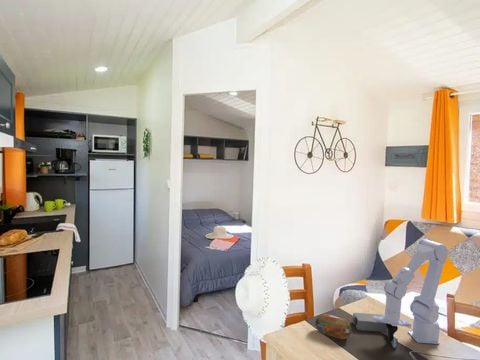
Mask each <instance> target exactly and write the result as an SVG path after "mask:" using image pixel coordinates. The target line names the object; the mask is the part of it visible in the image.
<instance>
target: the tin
mask: <svg viewBox="0 0 480 360" xmlns="http://www.w3.org/2000/svg"><path fill="white" fill-rule="evenodd" d="M315 326H316V329H317V330H318V331H319V333H321V334H323V335H327V336H329V337H333V338H337V339H339V340H347V339H348V338H350V336H351V334H352V333H351V332H352V327H351V326H352V325H351V324H350V323H349V321H348V320H347V319H346V318H343V317H339V316H335V315H332V314H328V313H321V314H319V315H318V316H317V317H316V319H315Z"/></svg>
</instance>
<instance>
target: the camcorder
mask: <svg viewBox="0 0 480 360" xmlns="http://www.w3.org/2000/svg"><path fill="white" fill-rule="evenodd" d="M373 316H385V314H379V313H365V312H353V313H352V319H351V321H352V325H354V326H355V328H356V329H357V330H358V331H366V332H367V331H368V332H370V331H371V332H381V333H384V332H385V333H386V329H387V326H386V324H385V323H381V322H374V321H373Z"/></svg>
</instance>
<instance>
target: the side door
mask: <svg viewBox="0 0 480 360" xmlns="http://www.w3.org/2000/svg"><path fill="white" fill-rule="evenodd" d="M385 333H386V335H387V336H388V329H386V332H385ZM398 340H399V338H398V337H397V335H396V334H395V333H394V335H393V340H392V342H391V341H390V343H391V345H392V347H393V348H394V349H395V348H396V347H398Z"/></svg>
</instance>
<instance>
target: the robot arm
mask: <svg viewBox="0 0 480 360" xmlns="http://www.w3.org/2000/svg"><path fill="white" fill-rule="evenodd" d="M415 248H416V251H415V253H414V254H413V256H412V257H411V258H410V260H409V262H408V264H407V265H406V266H404V267H403V266H402V267H401V268H400V269H399V270H398V272H396V274H395V275H394V277H393V278H392V279H391V280H387V281H386V282H385V284H384V285H383V290H384V292H385V294H384V295H385V296H386V297H385V310H384V316H373V321H374V322H381V323H385V324H386V326H387V329H388V335H387V340H388V342H390V343H391V342H392V340H393V335H394V334H395V333H396V332H397V331H398V330H399V327H400V326H401V327H407V328H408V329H411V328H412V330H408V331H407V333H408V334H410V336H411V337H412V338H413V339H414V340H415V342H417V343H420V344H430V345H431V344H433V345H434V344H435V345H440V342H439V339H440V325H439V323H438V319H439V317H440V316H439V313H440V312H439V310H440V307H439V305H438V304H437V302H436V300H435V299H436V295H437V291H438V288H439V284H440V281H441V277H442V273H443V270H444V266H445V264H446V261H447V258H448V255H449V249H448V247H447V245H445V244H444V243H439V242H437V241H432V240H429V239H427V238H422V239H420V240H418V244H416V247H415ZM425 261H428V267H427V269H426V273H425V277H424V280H423V284H422V288H421V291H420V294H419V295H417V296H414V298H413V299H412V302H411V303H410V306H409V307H410V308H409V309H410V311H411V313H412V316H413V322H412V323H413V324H412V323H411V321H410V320H405V319H402V318H401V309H402V299H403V298H404V297H405V296H406V294H407V290H408V286H409V285H410V284H411V282H412V281H413V280H414V278H415V272H416V271H417V270H419V268H420V267H421V266H422V265H423V264H424V263H425ZM398 326H399V327H398Z"/></svg>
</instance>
